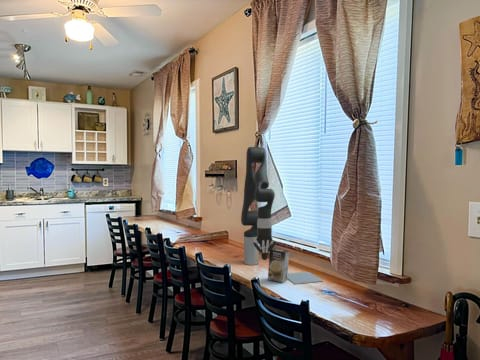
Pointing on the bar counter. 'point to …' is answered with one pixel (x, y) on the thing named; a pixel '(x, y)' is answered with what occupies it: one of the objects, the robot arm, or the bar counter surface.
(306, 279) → the mat
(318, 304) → the bar counter surface
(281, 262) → the coffee box
